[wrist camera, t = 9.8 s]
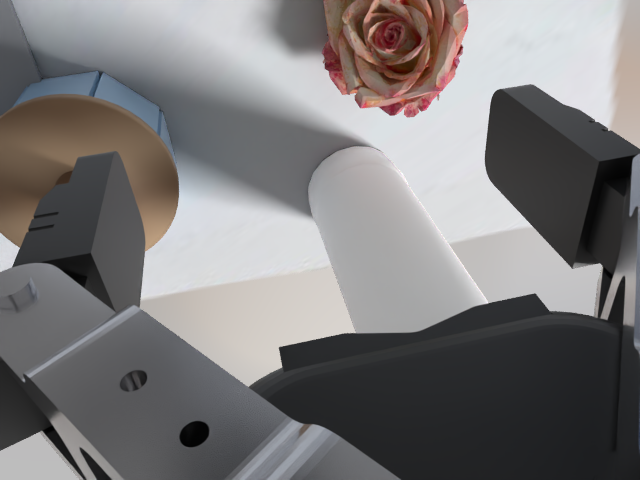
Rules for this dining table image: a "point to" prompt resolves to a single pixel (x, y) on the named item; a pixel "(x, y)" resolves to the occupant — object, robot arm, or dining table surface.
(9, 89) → the mat
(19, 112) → the lid
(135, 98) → the bowl
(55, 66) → the dining table surface
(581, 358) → the robot arm
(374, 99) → the flower
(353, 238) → the bottle
